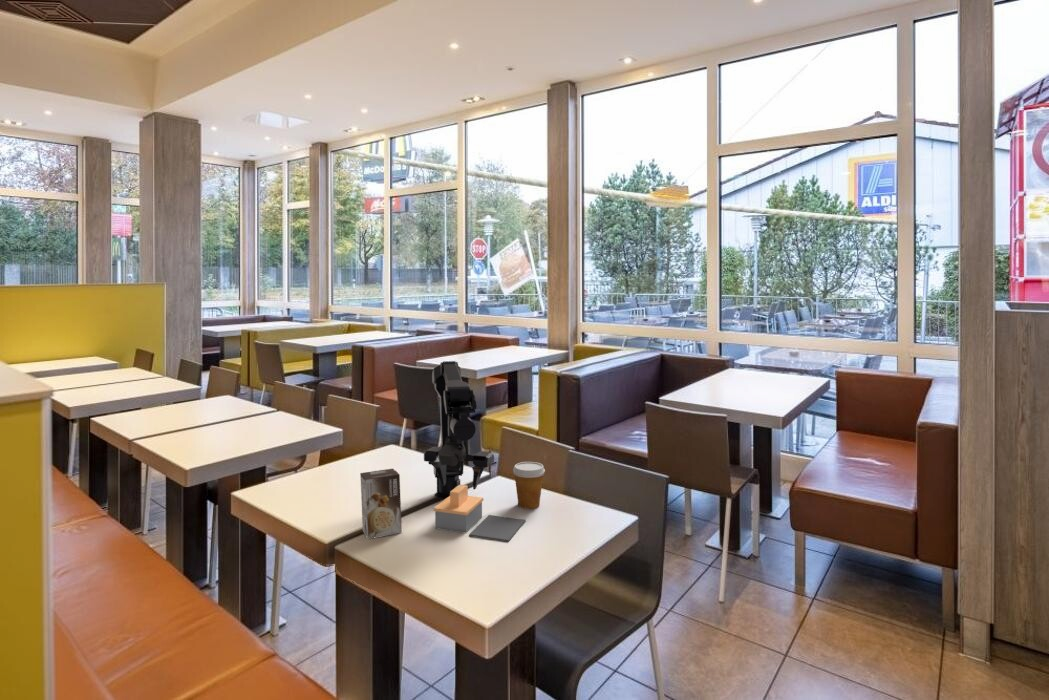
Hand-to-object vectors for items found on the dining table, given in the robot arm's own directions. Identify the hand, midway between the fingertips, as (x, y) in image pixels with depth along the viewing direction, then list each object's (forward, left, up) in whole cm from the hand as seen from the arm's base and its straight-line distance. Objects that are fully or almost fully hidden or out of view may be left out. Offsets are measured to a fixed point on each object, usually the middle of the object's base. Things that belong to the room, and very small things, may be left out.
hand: (459, 487), depth 163 cm
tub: (0, 0, -10) cm, 10 cm away
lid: (0, 0, -6) cm, 6 cm away
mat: (+12, 0, -10) cm, 15 cm away
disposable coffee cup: (+14, +19, -10) cm, 26 cm away
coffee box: (-17, -12, -10) cm, 23 cm away
